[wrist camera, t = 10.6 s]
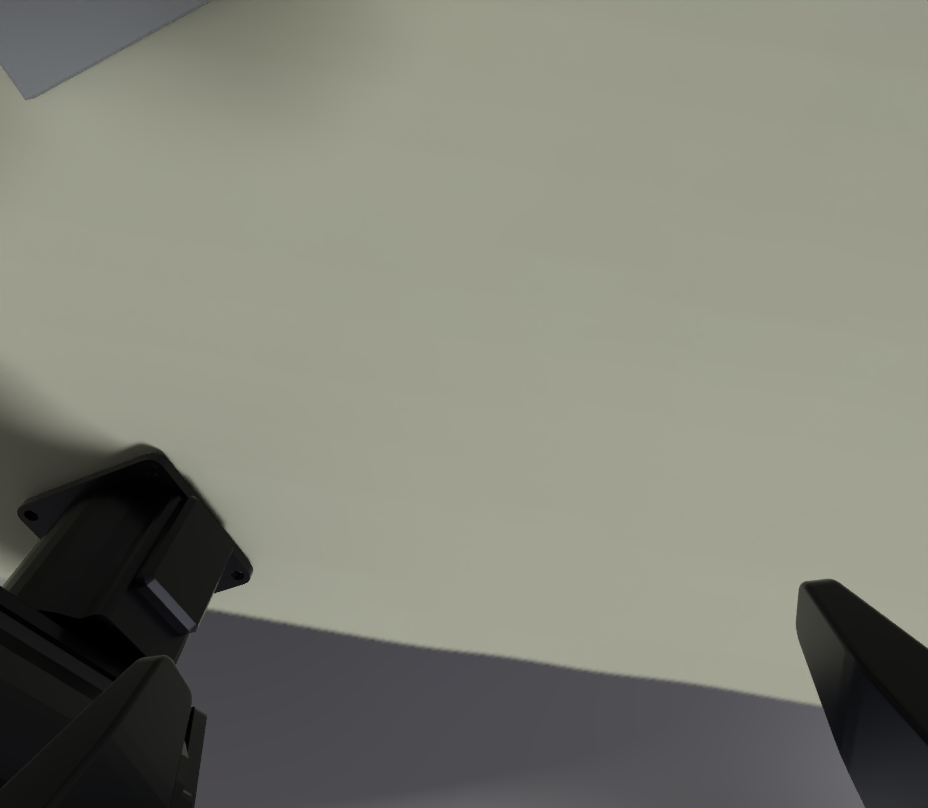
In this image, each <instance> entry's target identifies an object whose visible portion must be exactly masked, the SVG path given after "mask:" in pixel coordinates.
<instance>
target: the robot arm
mask: <svg viewBox="0 0 928 808" xmlns="http://www.w3.org/2000/svg"><path fill="white" fill-rule="evenodd" d="M150 465H152V466H155V467H156V468H157V469H158V470H155V469H153V468H152V467H151V466H150ZM33 511H34V512H33ZM17 513H18V516H19V518H20V519H21V520H22V521H23V522H24V523H25V524H26V525H27V526H28V527H29V528H30V529H31V530H32V531H33V532H34V533H35V534H36V535H37V536H38V537H39V538H40V541H39V542H38V543H37V544H36V546H35V547H34V548H33V549H32V550H31V552H30V553H29V554H28V555H27V557H26V558H25V559H24V560H23V561H22V563H21V564H20V565H19V566H18V568H17V569H16V570H15V571H14V572H13V574H12V575H11V576H10V577H9V579H8V580H7V581H6V582H5V583H4V585H3V586H2V587H1V586H0V808H194V805H195V798H196V790H197V782H198V776H199V769H200V762H201V755H202V748H203V740H204V733H205V726H206V718H207V715H206V714H204V713H203V712H201V711H199V710H198V709H196V708H195V707H191V704H192V695H191V691H190V688H189V686H188V684H187V682H186V681H185V680H184V678H183V676H182V674H181V673H180V671H179V670H178V668H177V667H176V664H177V661H178V659H179V657H180V655H181V653H182V651H183V648H184V646H185V644H186V642H187V640H188V638H189V635H190V633H193V632H195V631H196V630H197V629H198V627H199V624H200V622H201V620H202V618H203V616H204V613H205V611H206V609H207V607H208V605H209V602H210V600H211V598H212V596H213V594H214V593H217V592H220V591H223V590H227V589H230V588H233V587H236V586H239V585H243V584H245V583H247V582H248V581H249V580H250V578H251V575H252V573H253V567H252V565H251V564H250V562H249V561H248V560H247V559H246V557H245V556H244V555H243V554H242V552H241V551H240V550H239V549H238V547H237V546H236V545H235V544H234V542H233V541H232V540H231V539H230V537H229V536H228V535H227V534H226V532H225V531H224V530H223V529H222V527H221V526H220V525H219V524H218V522H217V521H216V520H215V519H214V517H213V516H212V515H211V514H210V512H209V511H208V510H207V509H206V507H205V506H204V505H203V503H202V502H201V501H200V500H199V498H198V497H197V496H196V495H195V493H194V492H193V491H192V490H191V488H190V487H189V486H188V485H187V483H186V482H185V481H184V480H183V478H182V477H181V476H180V475H179V473H178V472H177V471H176V470H175V468H174V467H173V466H172V465H171V463H170V462H169V461H168V460H167V459H166V458H165V457H164V456H162V455H160V454H157V453H149V454H146V455H143V456H141V457H138V458H135V459H133V460H130V461H127V462H125V463H122V464H119V465H117V466H114V467H111V468H109V469H106V470H104V471H101V472H98V473H96V474H93V475H90V476H88V477H85V478H82V479H80V480H77V481H75V482H72V483H69V484H67V485H64V486H61V487H59V488H56V489H53V490H51V491H48V492H46V493H43V494H40V495H38V496H35V497H32V498H30V499H28V500H26V501H25V502H24V503H23V504H22V505H21V506H20V507H19V508H18V511H17ZM237 571H240V572H242V573H240V572H237ZM796 630H797V635H798V639H799V642H800V645H801V648H802V651H803V654H804V656H805V659H806V662H807V665H808V668H809V670H810V673H811V676H812V679H813V681H814V684H815V687H816V690H817V693H818V695H819V698H820V701H821V704H822V707H823V709H824V712H825V715H826V718H827V720H828V723H829V726H830V729H831V731H832V734H833V737H834V740H835V742H836V745H837V747H838V750H839V753H840V755H841V758H842V760H843V762H844V764H845V766H846V769H847V771H848V773H849V775H850V777H851V779H852V781H853V783H854V785H855V787H856V789H857V792H858V793H859V795H860V798H861V800H862V802H863V804H864V806H865V808H928V648H927V647H925V646H924V645H923V644H921V643H920V642H919V641H917V640H916V639H915V638H913V637H912V636H911V635H909V634H908V633H907V632H905V631H904V630H903V629H901V628H900V627H898V626H897V625H896V624H894V623H893V622H892V621H890V620H889V619H888V618H886V617H885V616H884V615H882V614H881V613H880V612H878V611H877V610H876V609H874V608H873V607H872V606H870V605H869V604H868V603H866V602H865V601H864V600H862V599H861V598H859V597H858V596H857V595H855V594H854V593H853V592H851V591H850V590H849V589H847V588H846V587H845V586H843V585H842V584H841V583H839V582H838V581H835V580H833V579H822V580H813V581H805V582H803V583H802V584H801V585H800V587H799V592H798V604H797V615H796Z"/></svg>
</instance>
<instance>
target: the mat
mask: <svg viewBox="0 0 928 808" xmlns="http://www.w3.org/2000/svg"><path fill="white" fill-rule="evenodd" d="M210 1H212V0H0V64H1V66H2V67H3V69H4V70H5V72H6V73H7V74H8V76H9V77H10V79H11V80H12V82H13V83H14V84H15V86H16V87H17V89H18V90H19V92H20V93H21V95H22V96H23V97H24V99H25V100H29V99H33V98H35V97H37V96H39V95H41V94H43V93H45V92H46V91H48V90H50V89H52V88H54V87H55V86H57V85H59V84H61V83H63V82H65V81H66V80H68V79H70V78H72V77H74V76H75V75H77V74H79V73H81V72H83V71H85V70H86V69H88V68H90V67H92V66H94V65H95V64H97V63H99V62H101V61H103V60H105V59H106V58H108V57H110V56H112V55H114V54H115V53H117V52H119V51H121V50H123V49H125V48H126V47H128V46H130V45H132V44H134V43H135V42H137V41H139V40H141V39H143V38H145V37H146V36H148V35H150V34H152V33H154V32H155V31H157V30H159V29H161V28H163V27H165V26H166V25H168V24H170V23H172V22H174V21H175V20H177V19H179V18H181V17H183V16H184V15H186V14H188V13H190V12H192V11H194V10H195V9H197V8H199V7H201V6H203V5H204V4H206V3H208V2H210Z"/></svg>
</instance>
